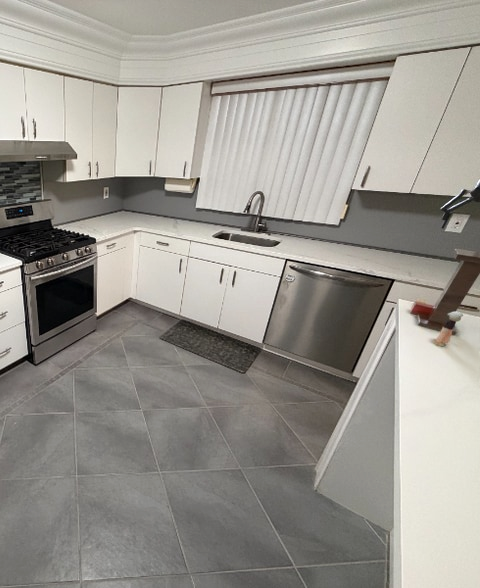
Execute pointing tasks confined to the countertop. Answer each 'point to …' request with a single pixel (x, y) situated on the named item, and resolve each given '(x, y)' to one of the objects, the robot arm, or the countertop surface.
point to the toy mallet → (421, 308)
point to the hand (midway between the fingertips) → (464, 230)
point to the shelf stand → (453, 290)
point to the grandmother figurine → (448, 328)
